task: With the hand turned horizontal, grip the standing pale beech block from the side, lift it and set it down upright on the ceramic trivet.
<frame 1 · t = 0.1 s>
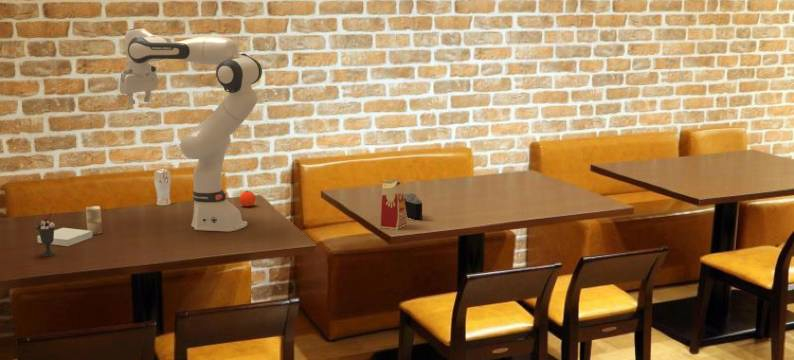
hand: (139, 103, 385), 48 cm above the table, tool pointing down, fingers open, 8 cm apart
beech block: (94, 232, 371), on the table
beer glass: (163, 204, 421), on the table
trivet: (65, 239, 361), on the table
sundae: (48, 254, 342), on the table
clementine: (247, 206, 416), on the table
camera: (412, 217, 396), on the table
milk carton: (392, 227, 380), on the table
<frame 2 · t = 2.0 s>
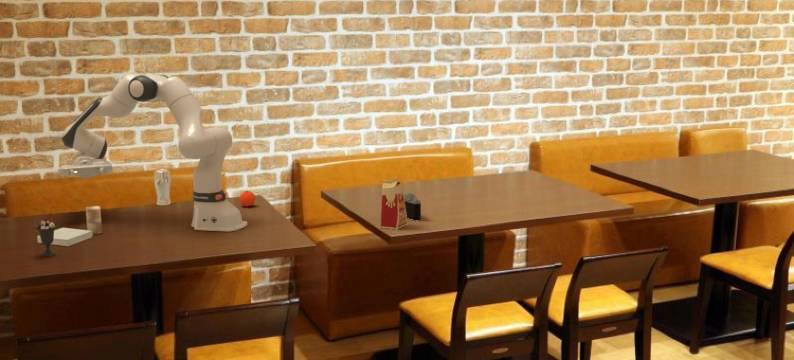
hand: (87, 173, 378), 22 cm above the table, tool horizontal, fingers open, 8 cm apart
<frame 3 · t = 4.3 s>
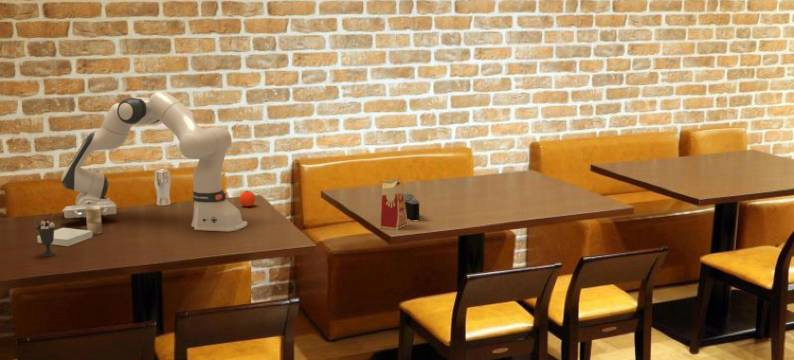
hand: (91, 214, 378), 5 cm above the table, tool horizontal, fingers open, 8 cm apart
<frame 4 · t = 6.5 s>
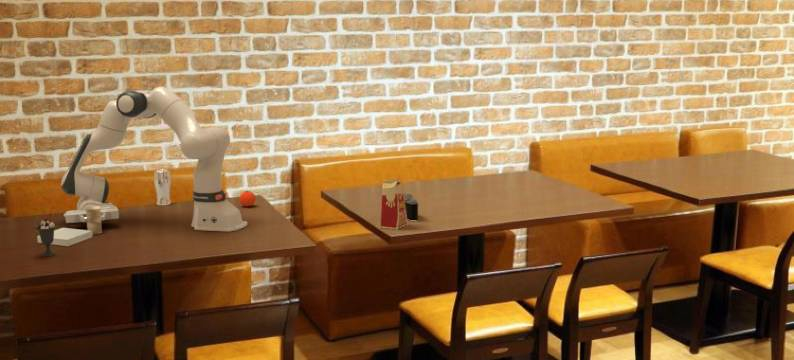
hand: (94, 219, 370), 6 cm above the table, tool horizontal, fingers closed on beech block, 5 cm apart
beech block: (94, 232, 371), on the table, touching gripper
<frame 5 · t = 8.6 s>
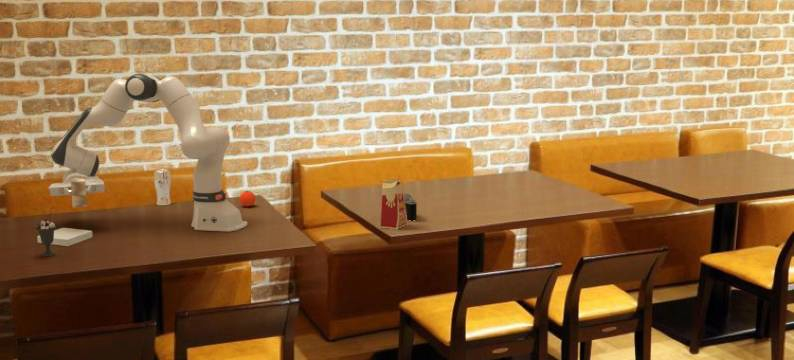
hand: (78, 192, 363), 17 cm above the table, tool horizontal, fingers closed on beech block, 5 cm apart
beech block: (79, 205, 365), point 12 cm above the table, touching gripper
when the fingers open (9 cm above the table, at t = 10.9 s): beech block drops 1 cm, resting on trivet.
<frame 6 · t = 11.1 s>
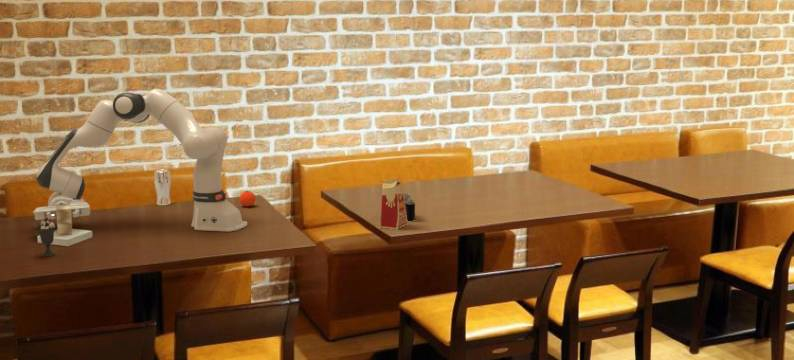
hand: (63, 216, 358), 9 cm above the table, tool horizontal, fingers open, 7 cm apart
beech block: (65, 233, 360), point 2 cm above the table, touching trivet
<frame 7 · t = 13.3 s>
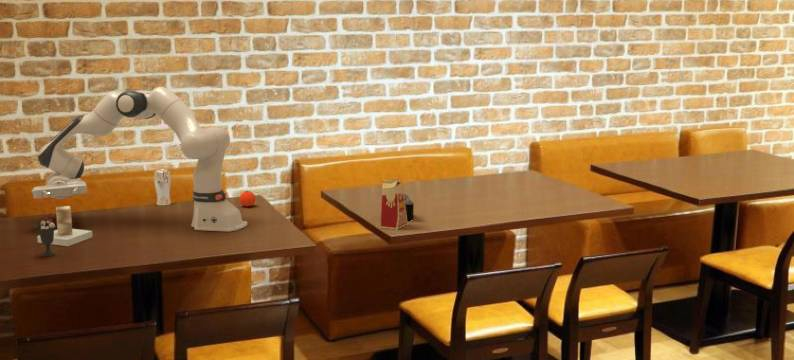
hand: (61, 193, 368), 16 cm above the table, tool horizontal, fingers open, 8 cm apart
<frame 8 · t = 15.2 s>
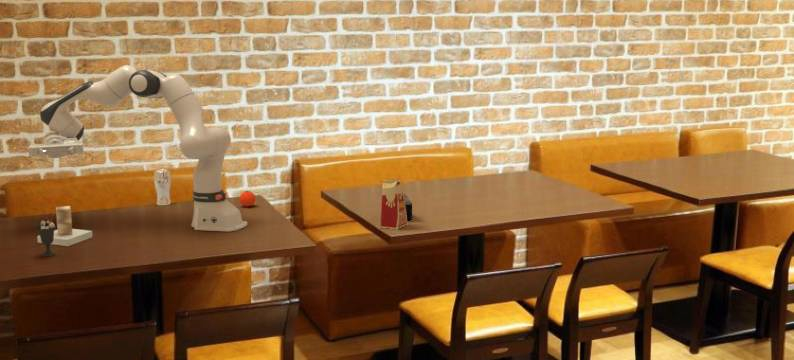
hand: (57, 152, 365), 32 cm above the table, tool horizontal, fingers open, 8 cm apart
at the end: beech block inside the target area on the trivet (0.0 cm from its centre), point 2.5 cm above the trivet's base; beech block tilted 0°; the gripper is holding nothing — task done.
